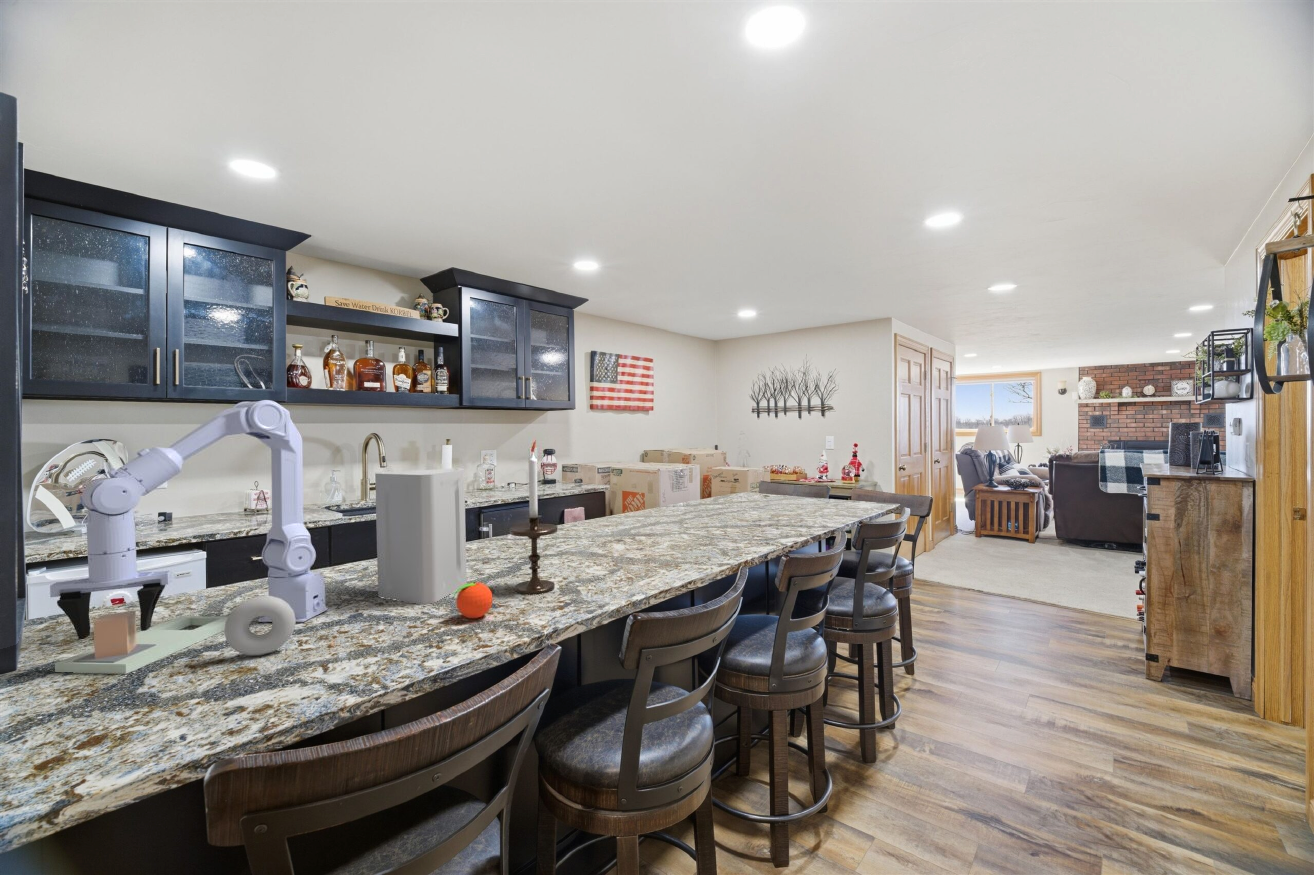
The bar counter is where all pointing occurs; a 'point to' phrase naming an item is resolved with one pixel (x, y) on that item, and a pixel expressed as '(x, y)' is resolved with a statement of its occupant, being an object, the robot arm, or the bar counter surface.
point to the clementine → (474, 600)
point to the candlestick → (534, 536)
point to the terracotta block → (115, 634)
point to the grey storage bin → (420, 534)
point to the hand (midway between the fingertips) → (115, 633)
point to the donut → (265, 643)
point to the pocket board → (147, 646)
